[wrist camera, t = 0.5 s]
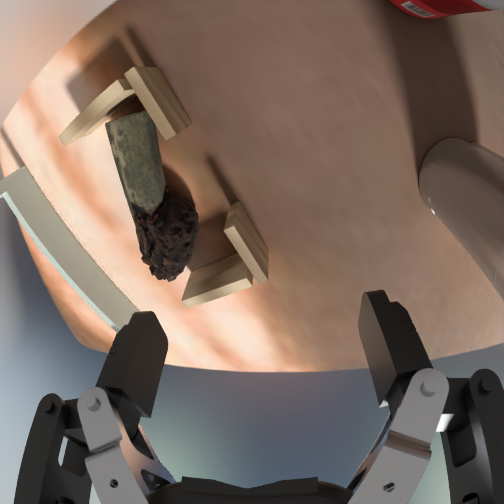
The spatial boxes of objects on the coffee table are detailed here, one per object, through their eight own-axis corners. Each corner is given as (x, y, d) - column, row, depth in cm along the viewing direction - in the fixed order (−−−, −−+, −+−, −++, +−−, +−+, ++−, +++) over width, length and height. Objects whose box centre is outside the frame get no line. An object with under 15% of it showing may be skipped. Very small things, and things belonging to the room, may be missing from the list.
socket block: (157, 67, 20) (133, 66, 16) (268, 250, 31) (268, 280, 27) (86, 124, 23) (58, 136, 19) (196, 278, 34) (187, 308, 30)
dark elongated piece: (117, 117, 23) (87, 129, 18) (179, 101, 22) (158, 107, 18) (159, 261, 33) (144, 292, 28) (211, 258, 32) (203, 291, 28)
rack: (25, 165, 25) (-11, 188, 19) (144, 315, 39) (129, 353, 33) (21, 170, 25) (-14, 193, 20) (139, 317, 39) (124, 354, 33)
